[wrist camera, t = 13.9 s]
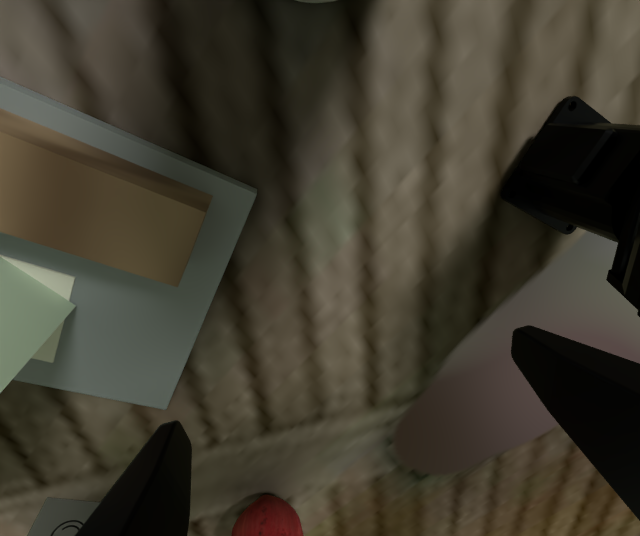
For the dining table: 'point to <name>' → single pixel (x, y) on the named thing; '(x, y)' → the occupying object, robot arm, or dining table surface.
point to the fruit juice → (316, 1)
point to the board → (124, 276)
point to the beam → (95, 203)
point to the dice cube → (62, 517)
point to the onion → (268, 519)
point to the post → (25, 318)
